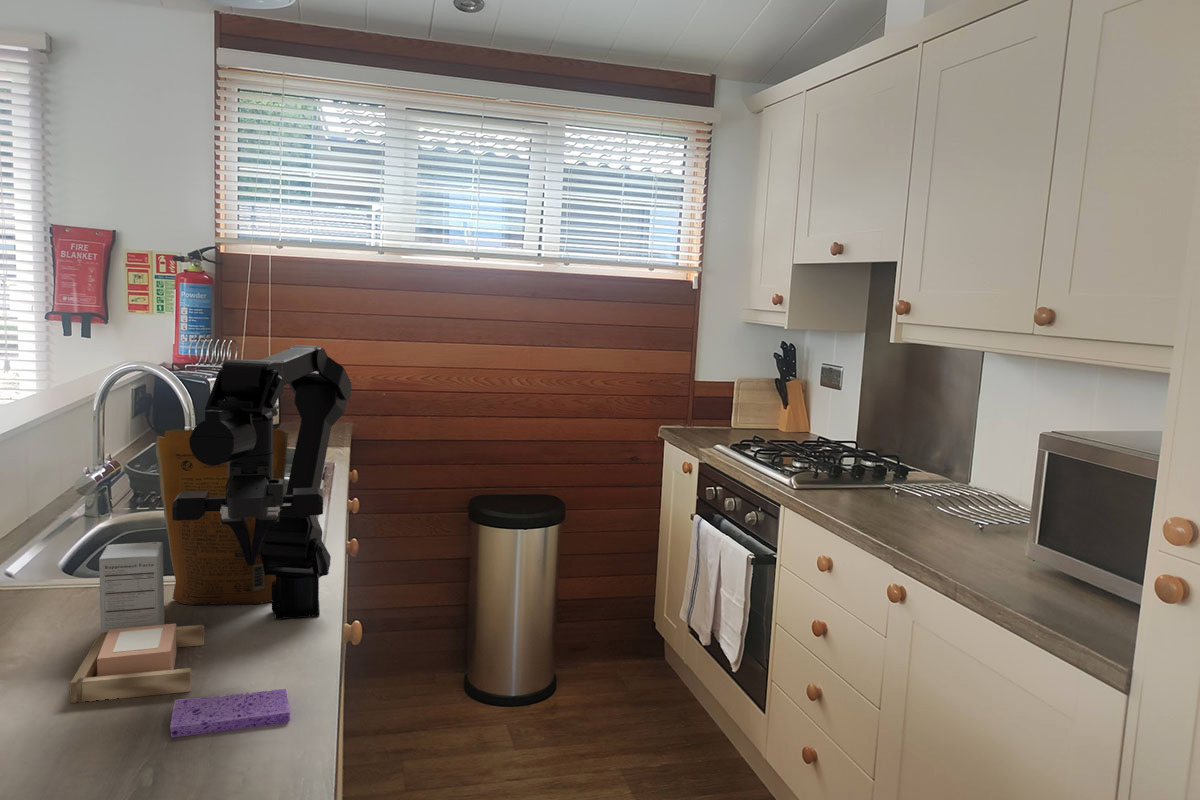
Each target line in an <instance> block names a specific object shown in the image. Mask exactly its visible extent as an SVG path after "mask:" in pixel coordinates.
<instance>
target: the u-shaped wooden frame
mask: <svg viewBox="0 0 1200 800" xmlns="http://www.w3.org/2000/svg"><path fill="white" fill-rule="evenodd" d="M204 626H205V625H204V624H197V625H196V624H194V625H186V626H185V625H183V626H176V648H185V647H193V646H194V647H196V646H204V643H205V627H204ZM107 633H108V632H101V631H100V632H99V634H98V636H97V638H96V640H95V641H94V643H93V645H92V646H91V648H90V649H89V651H88V653H87V654H86V656H85V657H84V659H83V661H82V662H81V665H80V666H79V668H78V669H77V671H76V673H75V675H74V676H73V678H72V679H71V681H70V704H77V703H76V702H78V703H86V702H85V701H89V702H97V701H96V700H99V701H106V700H105V699H109V700H116V699H117V698H119V699H127V698H136V697H137V698H139V697H146V696H147V697H149V696H157V695H158V696H159V695H169V694H179V693H190V692H191V690H192V668H191V667H188V668H187V667H186V668H179V669H178V668H177V669H175V668H174V669H173V670H164V671H153V672H142V673H131V674H120V675H109V676H98V677H97V658H98V655H99V653H100V650H101V648H102V645H103V643H104V640H105V638H106V635H107ZM117 700H118V699H117Z"/></svg>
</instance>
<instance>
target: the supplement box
mask: <svg viewBox="0 0 1200 800" xmlns="http://www.w3.org/2000/svg"><path fill="white" fill-rule="evenodd" d="M163 546H164V543H163V542H162V541H155V542H154V541H150V542H149V541H148V542H132V543H131V542H130V543H119V544H118V543H116V544H107V545H106V547H105V548H104V549H103V552H102V554H101V555H100V556H99V559H98V562H99V563H98V566H99V608H100V610H99V611H100V613H99V614H100V616H99V617H100V633H101V632H108V630H110V629H121V628H132V627H143V626H154V625H165V600H164V599H165V598H164V597H165V595H164V594H165V593H164V591H165V590H164V589H165V588H164V547H163Z"/></svg>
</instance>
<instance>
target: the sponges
mask: <svg viewBox="0 0 1200 800" xmlns="http://www.w3.org/2000/svg"><path fill="white" fill-rule="evenodd" d="M287 691H288V690H287V688H279V689H272V690H269V691H268V690H260V691H254V692H250V693H249V692H247V693H245V694H244V693H235V694H233V693H232V694H226V695H212V696H211V695H210V696H202V697H188V698H180V699H178V698H177V699H175V700H174V703H173V708H172V713H171V721H170V726H169V727H170V738H176V737H177V738H178V737H180V738H181V737H184V736H185V737H186V736H193V735H200V734H206V733H207V734H210V733H217V732H224V731H230V730H232V731H234V730H240V729H241V730H242V729H247V728H248V729H249V728H254V727H255V728H257V727H264V726H271V725H280V724H281V725H282V724H286V723H287V722H290V721H291V711H290V706H289V705H290V704H289V699H288V692H287Z"/></svg>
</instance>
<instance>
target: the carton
mask: <svg viewBox="0 0 1200 800" xmlns="http://www.w3.org/2000/svg"><path fill="white" fill-rule="evenodd" d="M176 627H177V623H166V624H165V623H164V625H154V626H143V627H132V628H121V629H110V630H108V633H107V635H106V638H105V640H104V643H103V645H102V648H101V650H100V653H99V655H98V658H97V676H96V677H98V676H109V675H120V674H131V673H142V672H153V671H164V670H175V663H176V658H177V647H176Z"/></svg>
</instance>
